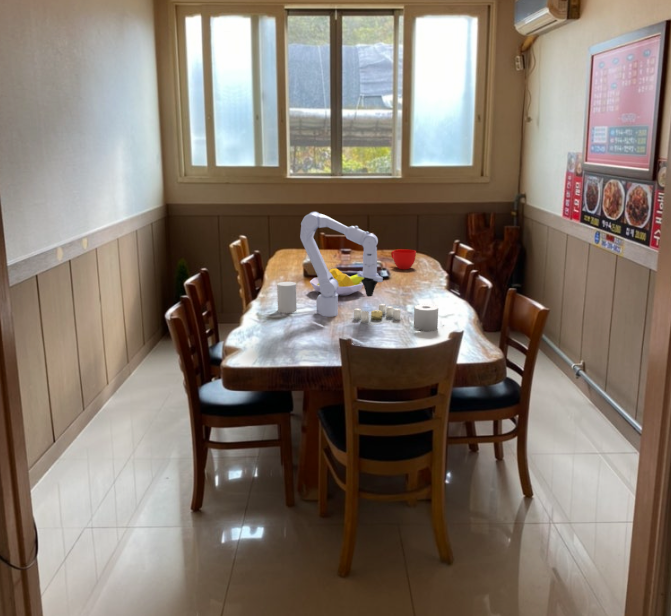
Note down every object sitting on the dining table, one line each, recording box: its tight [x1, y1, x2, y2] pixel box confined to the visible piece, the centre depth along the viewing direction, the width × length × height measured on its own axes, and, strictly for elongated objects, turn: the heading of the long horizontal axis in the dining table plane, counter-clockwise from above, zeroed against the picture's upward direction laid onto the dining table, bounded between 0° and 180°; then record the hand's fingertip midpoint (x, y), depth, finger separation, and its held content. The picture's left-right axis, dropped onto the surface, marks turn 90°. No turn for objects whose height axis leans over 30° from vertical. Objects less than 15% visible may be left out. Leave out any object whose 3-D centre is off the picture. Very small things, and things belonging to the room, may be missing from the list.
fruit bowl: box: [309, 267, 364, 297], centre depth 312 cm, size 28×27×11 cm
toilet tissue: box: [413, 303, 439, 333], centre depth 256 cm, size 9×13×9 cm
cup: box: [276, 281, 298, 314], centre depth 280 cm, size 8×8×12 cm
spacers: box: [353, 303, 401, 324], centre depth 265 cm, size 12×16×4 cm
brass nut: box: [370, 309, 382, 320], centre depth 265 cm, size 5×5×3 cm
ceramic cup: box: [390, 248, 417, 270], centre depth 372 cm, size 13×17×10 cm
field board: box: [350, 314, 402, 327], centre depth 266 cm, size 13×17×1 cm
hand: (369, 296), depth 268 cm, fingers closed
